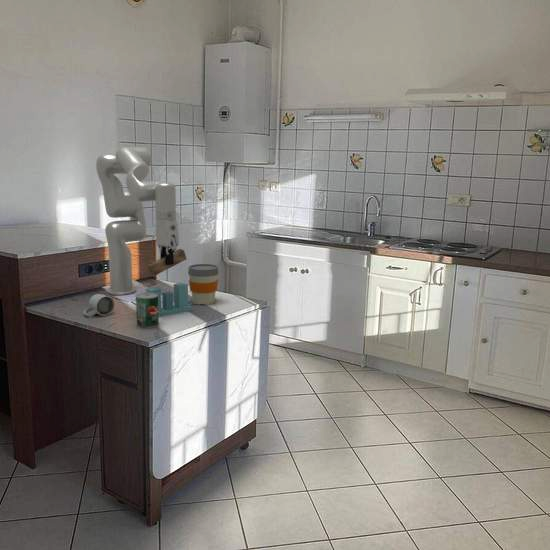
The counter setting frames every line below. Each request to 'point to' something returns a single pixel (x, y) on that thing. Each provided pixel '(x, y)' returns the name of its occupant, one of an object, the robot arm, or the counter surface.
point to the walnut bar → (161, 263)
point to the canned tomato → (147, 309)
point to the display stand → (167, 299)
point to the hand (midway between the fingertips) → (167, 263)
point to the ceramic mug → (100, 305)
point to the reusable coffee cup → (203, 283)
